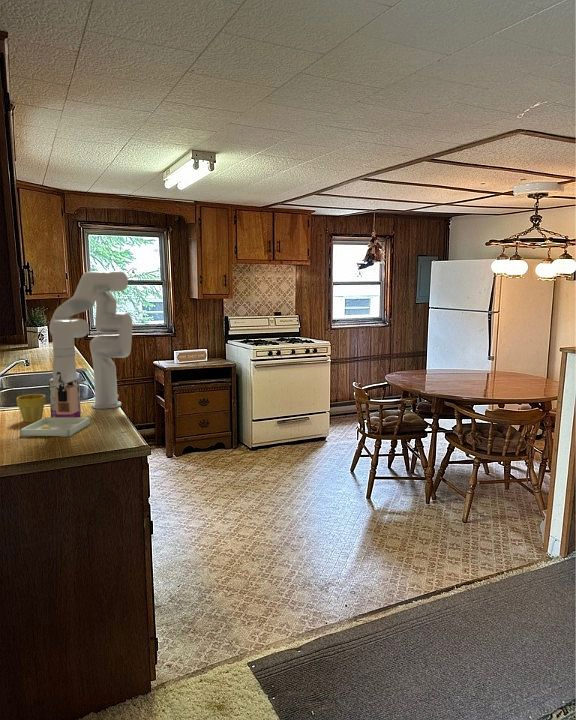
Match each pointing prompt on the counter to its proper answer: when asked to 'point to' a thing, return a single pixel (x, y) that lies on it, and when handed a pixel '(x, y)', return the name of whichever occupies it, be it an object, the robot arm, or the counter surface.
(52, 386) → the candy bar box
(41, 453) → the counter surface
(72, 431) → the tray
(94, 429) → the counter surface
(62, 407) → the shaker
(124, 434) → the counter surface
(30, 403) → the plant pot
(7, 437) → the counter surface
